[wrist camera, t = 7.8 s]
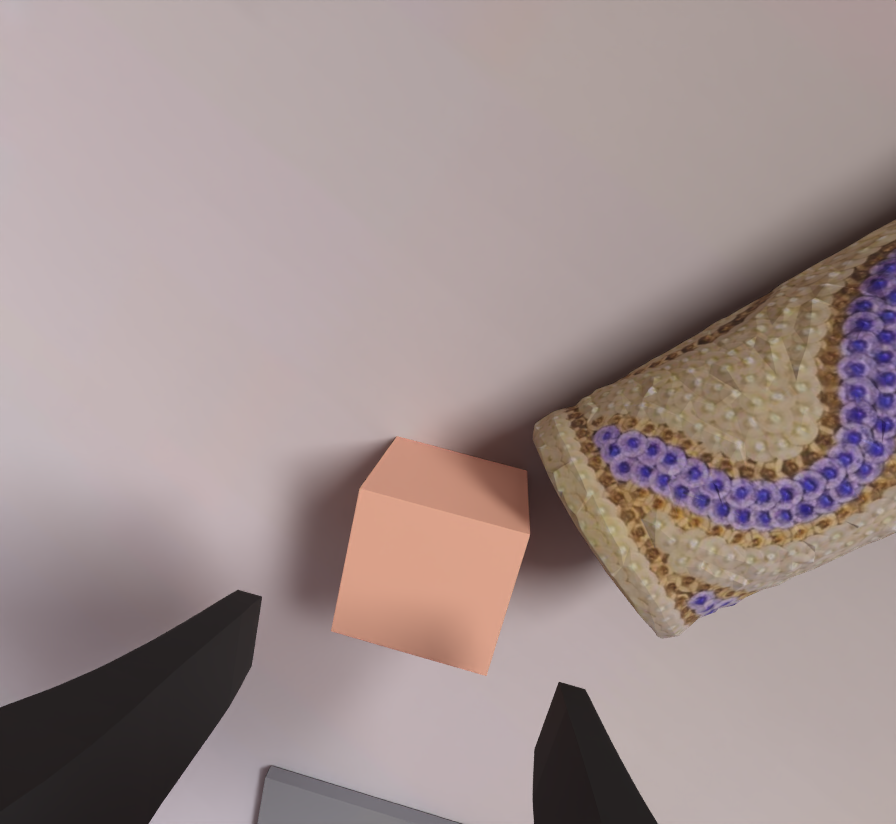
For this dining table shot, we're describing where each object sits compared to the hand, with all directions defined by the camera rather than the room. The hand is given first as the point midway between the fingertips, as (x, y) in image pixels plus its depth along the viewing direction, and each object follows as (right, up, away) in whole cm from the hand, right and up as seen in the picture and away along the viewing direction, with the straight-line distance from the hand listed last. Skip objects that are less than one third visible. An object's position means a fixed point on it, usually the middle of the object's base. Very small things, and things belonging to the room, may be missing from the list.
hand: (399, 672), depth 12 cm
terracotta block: (+1, +2, +8) cm, 8 cm away
